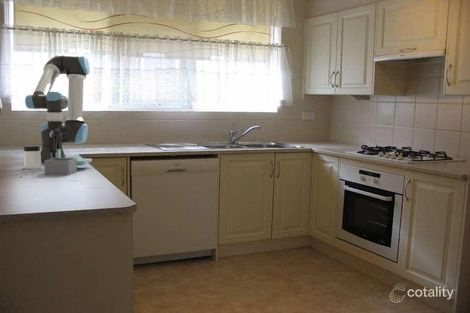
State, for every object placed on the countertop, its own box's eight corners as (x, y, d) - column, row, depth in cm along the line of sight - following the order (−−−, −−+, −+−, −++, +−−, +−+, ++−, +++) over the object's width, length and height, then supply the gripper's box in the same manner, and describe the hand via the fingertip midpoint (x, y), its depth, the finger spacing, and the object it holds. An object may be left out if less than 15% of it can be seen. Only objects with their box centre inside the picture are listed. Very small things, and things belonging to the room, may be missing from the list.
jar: (43, 166, 275) (42, 145, 273) (39, 168, 267) (38, 146, 265) (26, 166, 274) (25, 145, 272) (21, 169, 266) (20, 146, 264)
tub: (54, 171, 259) (53, 157, 258) (77, 171, 259) (76, 158, 258) (44, 174, 247) (44, 160, 246) (68, 174, 247) (68, 160, 246)
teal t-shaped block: (56, 162, 276) (55, 148, 275) (92, 163, 276) (91, 148, 275) (46, 165, 263) (46, 150, 262) (84, 166, 263) (84, 150, 262)
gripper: (53, 119, 275) (55, 162, 278) (41, 121, 259) (43, 165, 261) (67, 120, 275) (68, 162, 278) (55, 121, 259) (57, 166, 261)
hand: (56, 163), depth 269 cm, fingers closed on teal t-shaped block, 3 cm apart
